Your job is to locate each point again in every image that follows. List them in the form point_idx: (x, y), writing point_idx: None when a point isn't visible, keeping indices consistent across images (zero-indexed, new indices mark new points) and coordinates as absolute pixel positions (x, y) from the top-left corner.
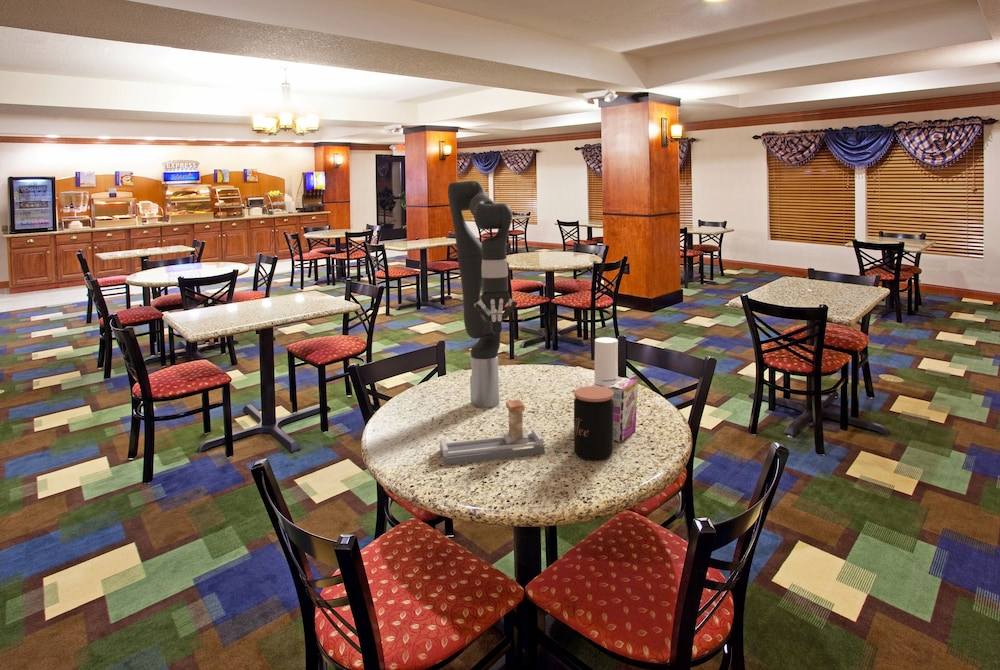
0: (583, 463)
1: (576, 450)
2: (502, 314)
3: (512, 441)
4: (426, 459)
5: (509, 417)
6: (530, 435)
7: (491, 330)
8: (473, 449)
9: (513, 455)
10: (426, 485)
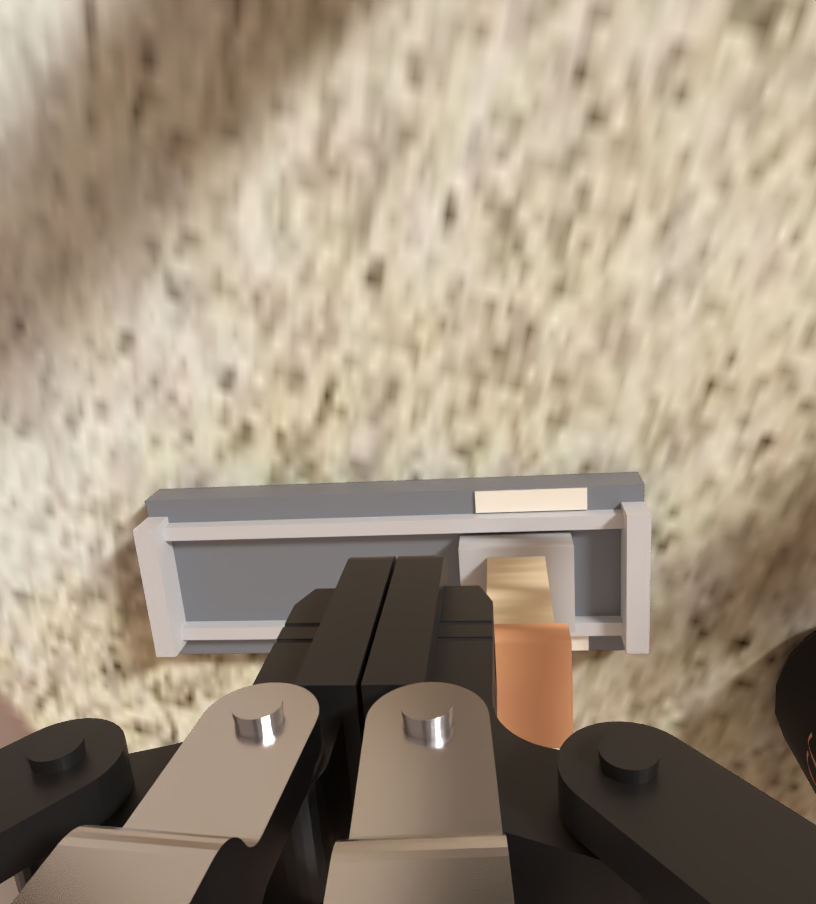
0: (773, 757)
1: (779, 721)
2: (572, 861)
3: None
4: (105, 564)
5: None
6: (608, 526)
7: (303, 603)
8: None
9: None
10: None
